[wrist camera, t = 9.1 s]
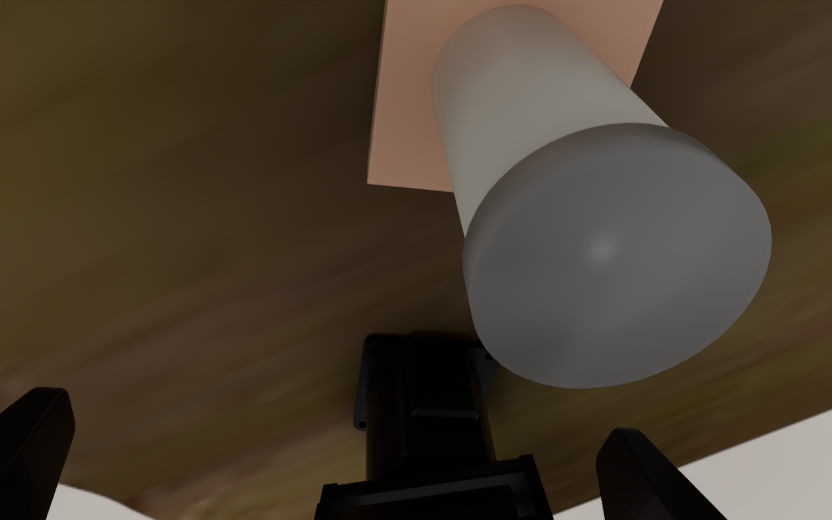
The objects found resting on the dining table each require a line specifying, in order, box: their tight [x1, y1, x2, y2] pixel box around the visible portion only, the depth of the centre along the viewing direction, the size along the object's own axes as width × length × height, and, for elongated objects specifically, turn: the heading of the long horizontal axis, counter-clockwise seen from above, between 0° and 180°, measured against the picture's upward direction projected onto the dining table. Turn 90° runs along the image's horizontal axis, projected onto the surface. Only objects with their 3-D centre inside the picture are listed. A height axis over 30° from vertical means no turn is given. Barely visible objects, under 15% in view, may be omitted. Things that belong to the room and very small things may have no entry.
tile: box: [367, 0, 663, 192], centre depth 19 cm, size 8×8×2 cm
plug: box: [431, 5, 772, 389], centre depth 14 cm, size 5×5×10 cm
